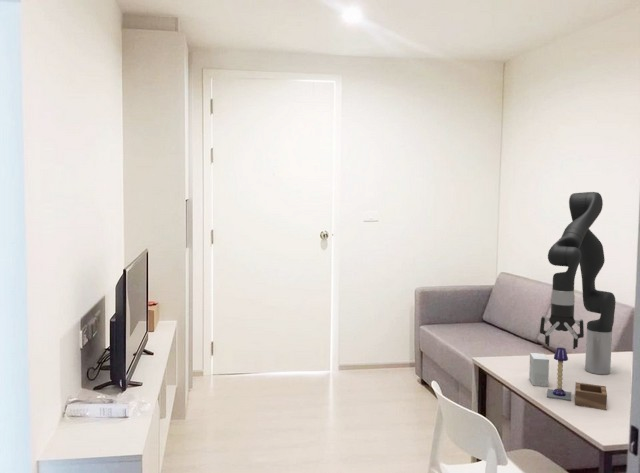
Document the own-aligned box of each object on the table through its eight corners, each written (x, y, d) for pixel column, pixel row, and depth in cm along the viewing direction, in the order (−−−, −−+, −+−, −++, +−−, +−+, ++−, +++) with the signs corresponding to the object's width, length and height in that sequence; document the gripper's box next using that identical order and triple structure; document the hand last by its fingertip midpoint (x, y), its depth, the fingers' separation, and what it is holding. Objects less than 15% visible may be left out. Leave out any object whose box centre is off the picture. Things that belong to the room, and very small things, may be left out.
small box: (548, 386, 204) (549, 359, 204) (532, 385, 205) (533, 358, 205) (544, 379, 212) (545, 353, 211) (528, 378, 213) (529, 352, 212)
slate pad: (547, 390, 201) (547, 388, 201) (571, 393, 197) (571, 392, 197) (546, 397, 194) (546, 395, 193) (571, 401, 190) (571, 399, 190)
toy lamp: (549, 391, 198) (551, 346, 196) (562, 391, 198) (564, 346, 197) (556, 396, 193) (558, 350, 192) (569, 396, 193) (571, 350, 192)
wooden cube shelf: (575, 395, 195) (575, 382, 195) (605, 400, 191) (605, 386, 191) (574, 405, 187) (575, 390, 186) (606, 409, 183) (607, 395, 182)
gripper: (584, 302, 193) (583, 346, 194) (541, 298, 199) (540, 342, 200) (585, 306, 186) (583, 352, 188) (540, 302, 192) (538, 347, 194)
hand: (561, 347), depth 194 cm, fingers open, 8 cm apart
